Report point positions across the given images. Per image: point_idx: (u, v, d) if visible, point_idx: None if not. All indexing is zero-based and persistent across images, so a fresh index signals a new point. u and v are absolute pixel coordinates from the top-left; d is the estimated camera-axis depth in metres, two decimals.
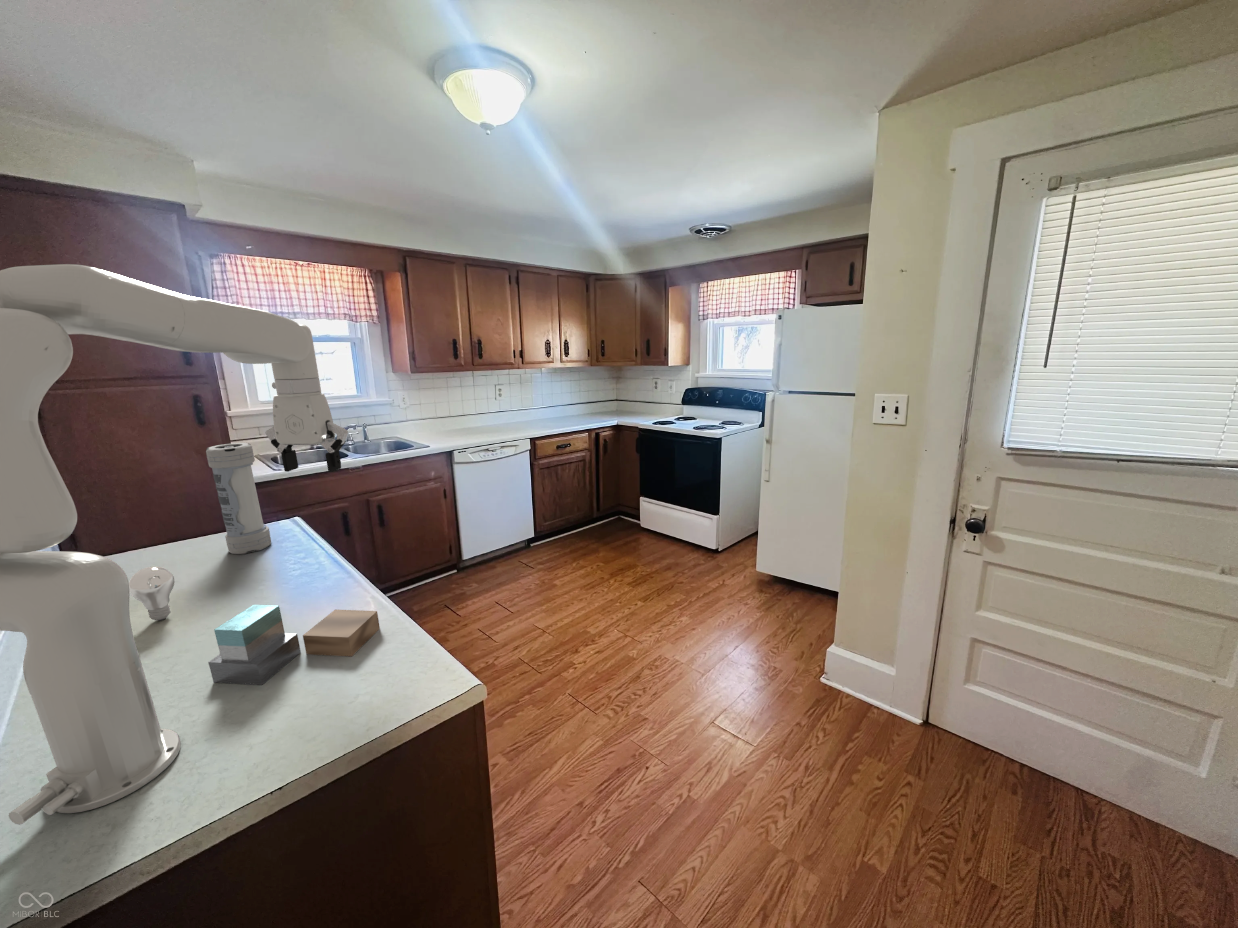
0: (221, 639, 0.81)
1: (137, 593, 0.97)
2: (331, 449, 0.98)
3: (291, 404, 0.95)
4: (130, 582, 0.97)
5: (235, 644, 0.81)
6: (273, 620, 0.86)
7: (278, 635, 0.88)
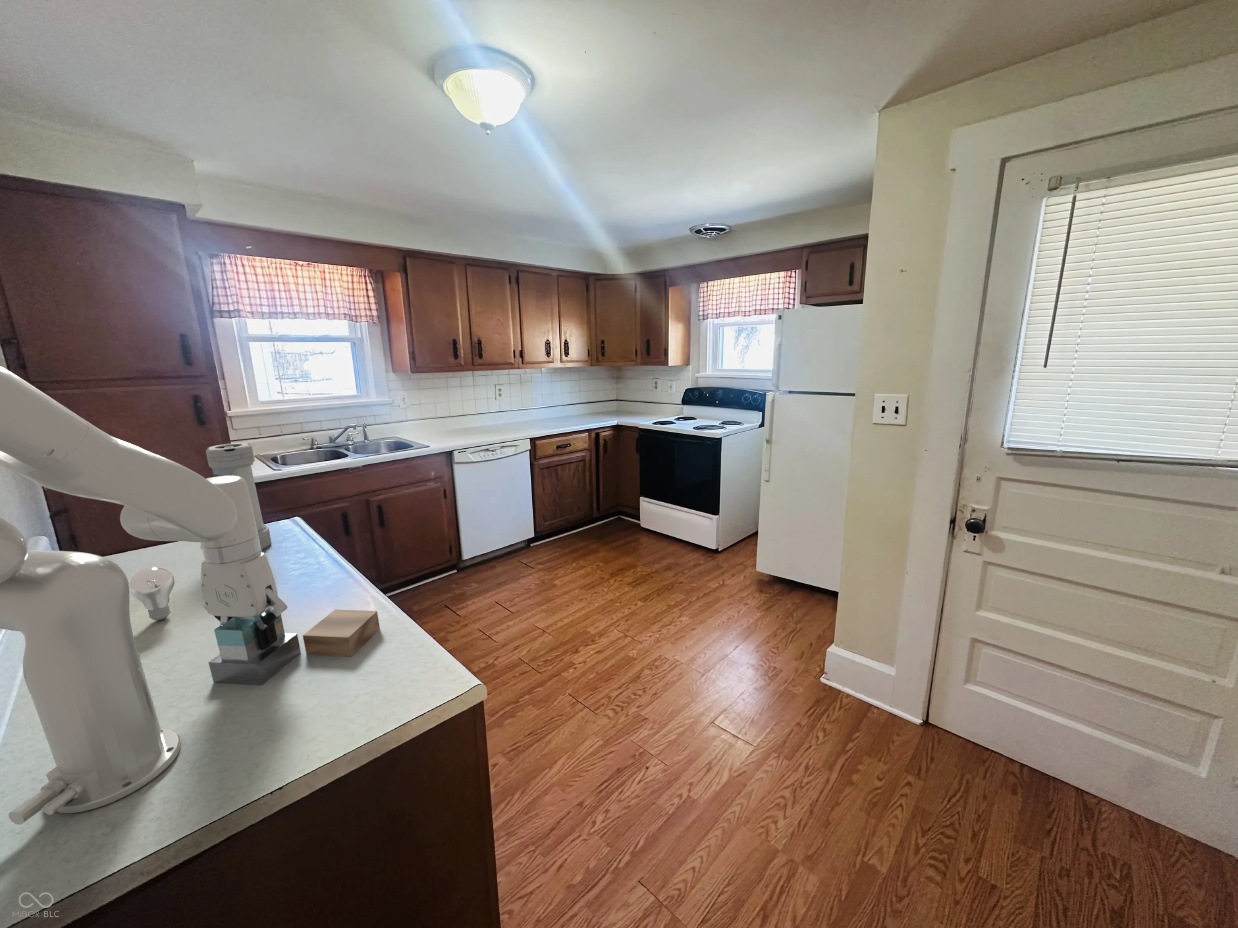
0: (221, 639, 0.81)
1: (137, 593, 0.97)
2: (263, 626, 0.83)
3: (221, 573, 0.79)
4: (130, 582, 0.97)
5: (235, 644, 0.81)
6: None
7: (278, 635, 0.88)
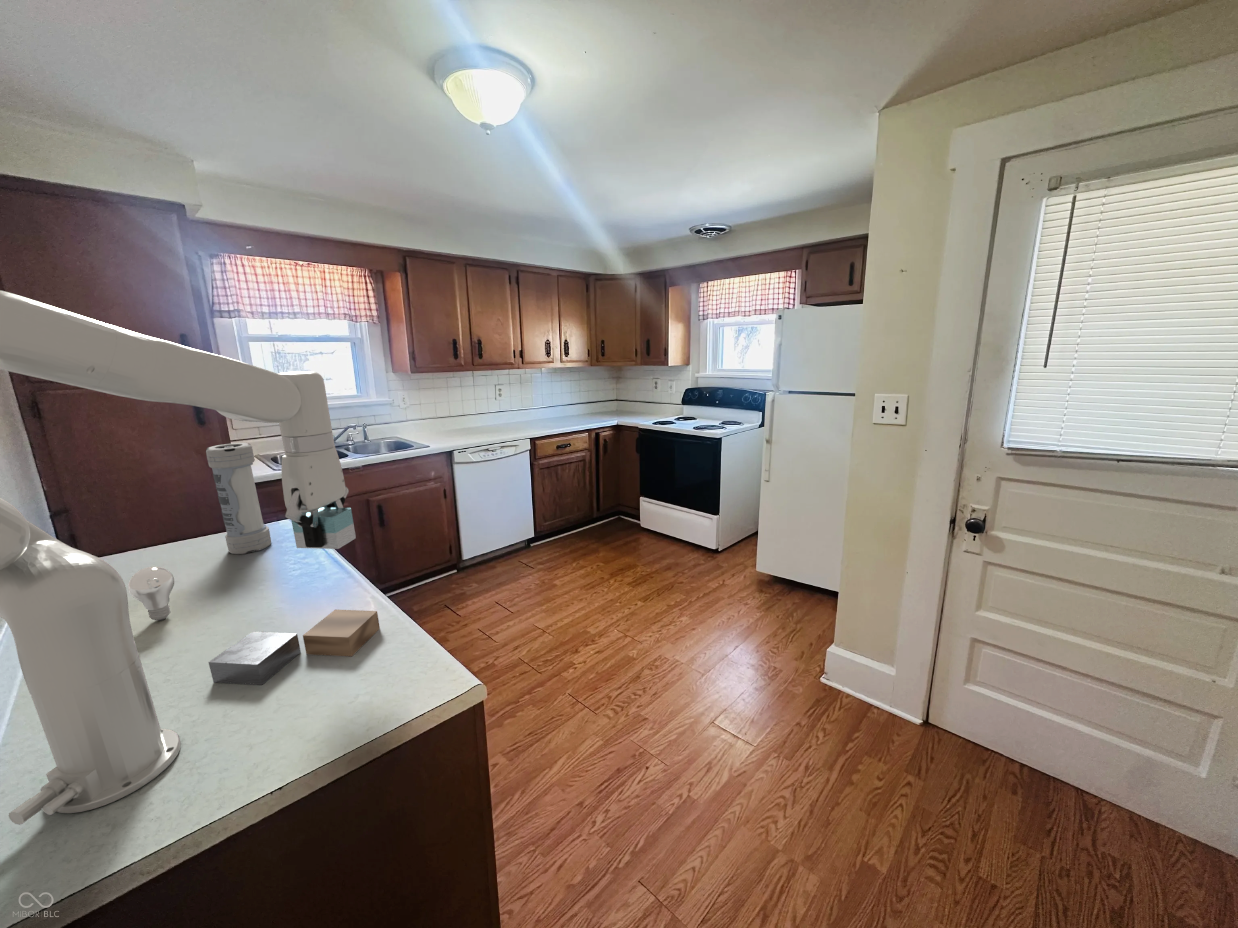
0: None
1: (137, 593, 0.97)
2: None
3: None
4: (130, 582, 0.97)
5: None
6: (325, 527, 0.85)
7: (330, 545, 0.86)
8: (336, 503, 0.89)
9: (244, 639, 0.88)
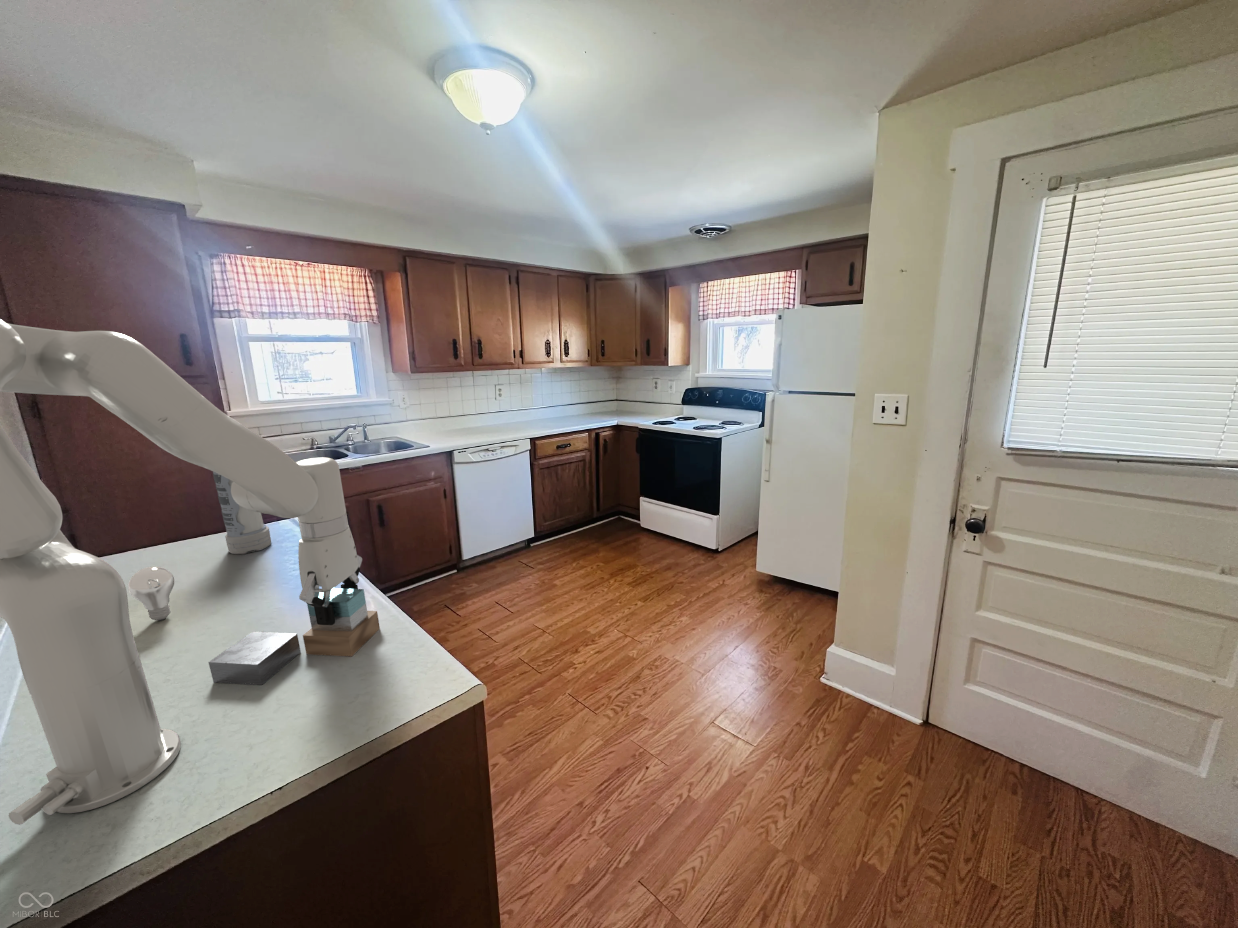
0: None
1: (137, 593, 0.97)
2: None
3: None
4: (130, 582, 0.97)
5: None
6: (339, 611, 0.89)
7: (344, 627, 0.90)
8: (351, 576, 0.94)
9: (244, 639, 0.88)
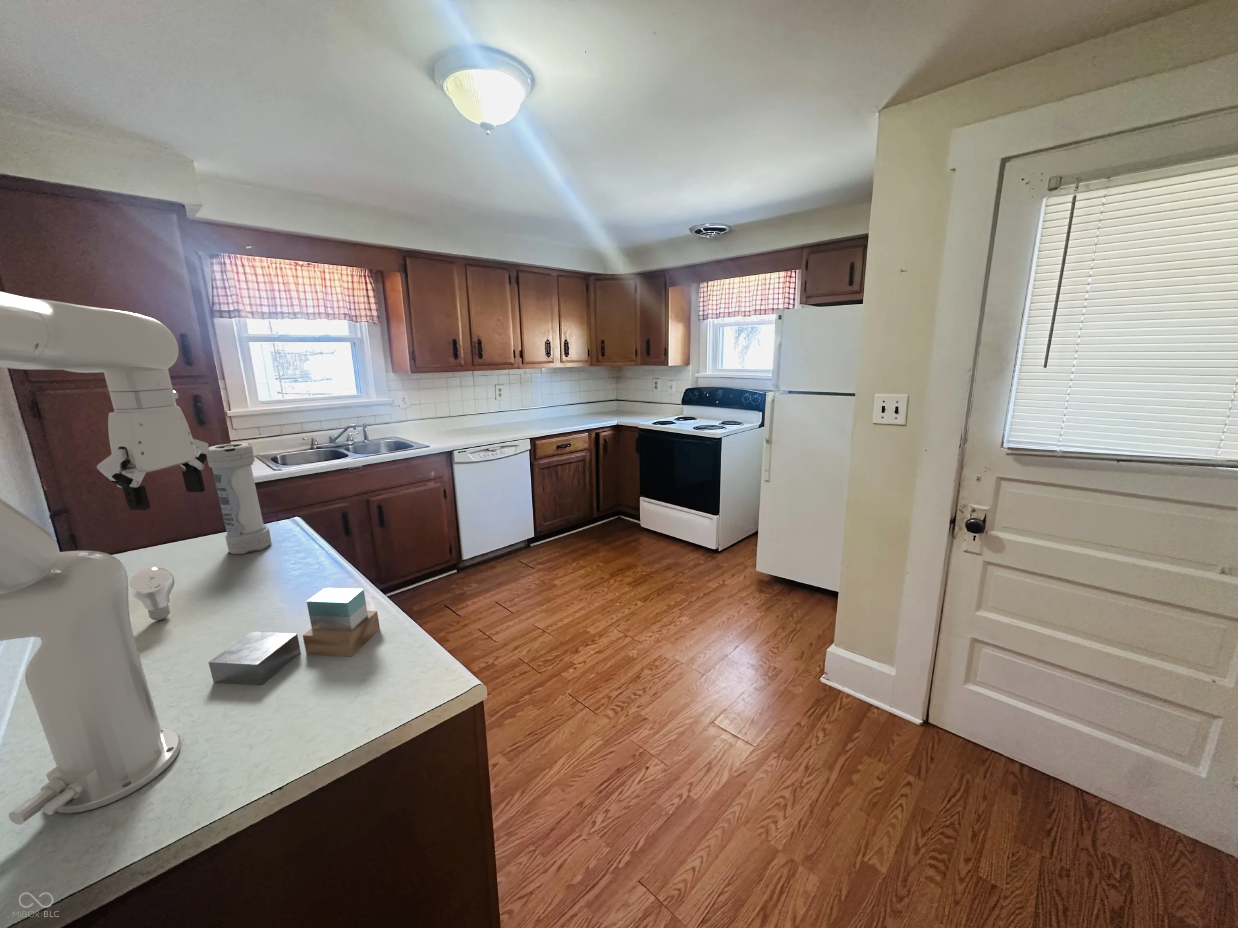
0: None
1: (137, 593, 0.97)
2: None
3: None
4: (130, 582, 0.97)
5: None
6: (339, 611, 0.89)
7: (344, 627, 0.90)
8: (190, 462, 0.86)
9: (244, 639, 0.88)
